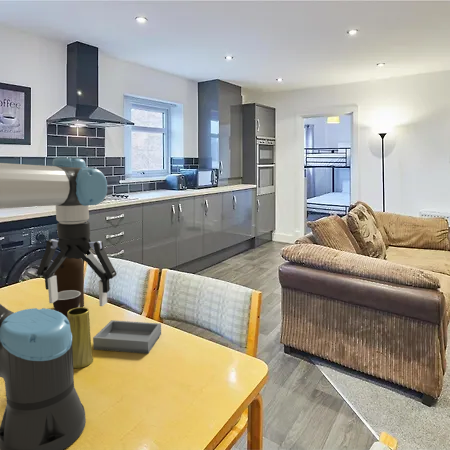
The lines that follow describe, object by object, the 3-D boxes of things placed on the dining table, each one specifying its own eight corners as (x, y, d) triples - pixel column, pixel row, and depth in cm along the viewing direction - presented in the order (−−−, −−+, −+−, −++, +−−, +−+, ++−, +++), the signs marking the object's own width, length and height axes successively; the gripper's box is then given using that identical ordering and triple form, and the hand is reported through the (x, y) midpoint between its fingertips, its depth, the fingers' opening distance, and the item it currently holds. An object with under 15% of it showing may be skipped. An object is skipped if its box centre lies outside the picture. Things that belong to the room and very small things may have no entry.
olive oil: (89, 309, 133) (85, 241, 129) (57, 315, 127) (52, 244, 123) (82, 300, 142) (78, 236, 138) (52, 305, 136) (47, 239, 132)
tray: (148, 353, 102) (148, 341, 102) (93, 349, 104) (93, 337, 104) (161, 334, 114) (161, 323, 114) (111, 330, 116) (111, 320, 116)
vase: (63, 366, 96) (59, 313, 93) (79, 354, 101) (76, 305, 99) (83, 370, 94) (80, 317, 92) (98, 358, 100) (95, 308, 97)
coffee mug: (72, 331, 116) (70, 300, 114) (47, 328, 117) (45, 298, 116) (92, 316, 127) (91, 288, 125) (69, 314, 129) (68, 286, 127)
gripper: (127, 220, 94) (130, 300, 97) (36, 217, 97) (42, 295, 100) (114, 225, 86) (118, 311, 90) (16, 222, 90) (24, 305, 93)
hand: (78, 302), depth 95 cm, fingers open, 13 cm apart
